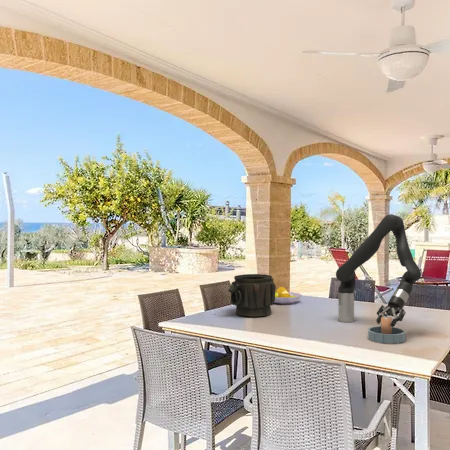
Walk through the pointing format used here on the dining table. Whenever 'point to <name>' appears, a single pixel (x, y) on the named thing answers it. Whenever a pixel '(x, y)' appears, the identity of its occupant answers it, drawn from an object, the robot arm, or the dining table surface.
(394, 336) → the bowl
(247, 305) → the vessel
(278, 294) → the fruit bowl
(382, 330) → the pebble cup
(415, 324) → the dining table surface
